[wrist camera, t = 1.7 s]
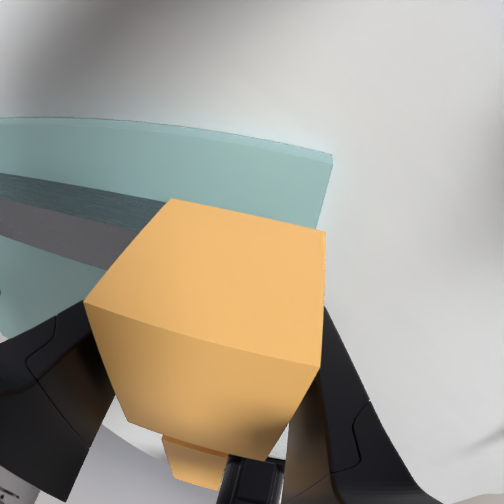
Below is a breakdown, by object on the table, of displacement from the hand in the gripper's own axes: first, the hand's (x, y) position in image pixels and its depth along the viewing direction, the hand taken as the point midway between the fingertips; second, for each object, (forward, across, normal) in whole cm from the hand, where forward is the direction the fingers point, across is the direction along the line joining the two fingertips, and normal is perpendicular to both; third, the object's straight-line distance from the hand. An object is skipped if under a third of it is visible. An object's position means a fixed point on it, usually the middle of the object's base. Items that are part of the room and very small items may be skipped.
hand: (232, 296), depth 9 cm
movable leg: (+2, 0, +3) cm, 4 cm away
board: (+4, +10, +6) cm, 12 cm away
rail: (+4, +10, 0) cm, 10 cm away
